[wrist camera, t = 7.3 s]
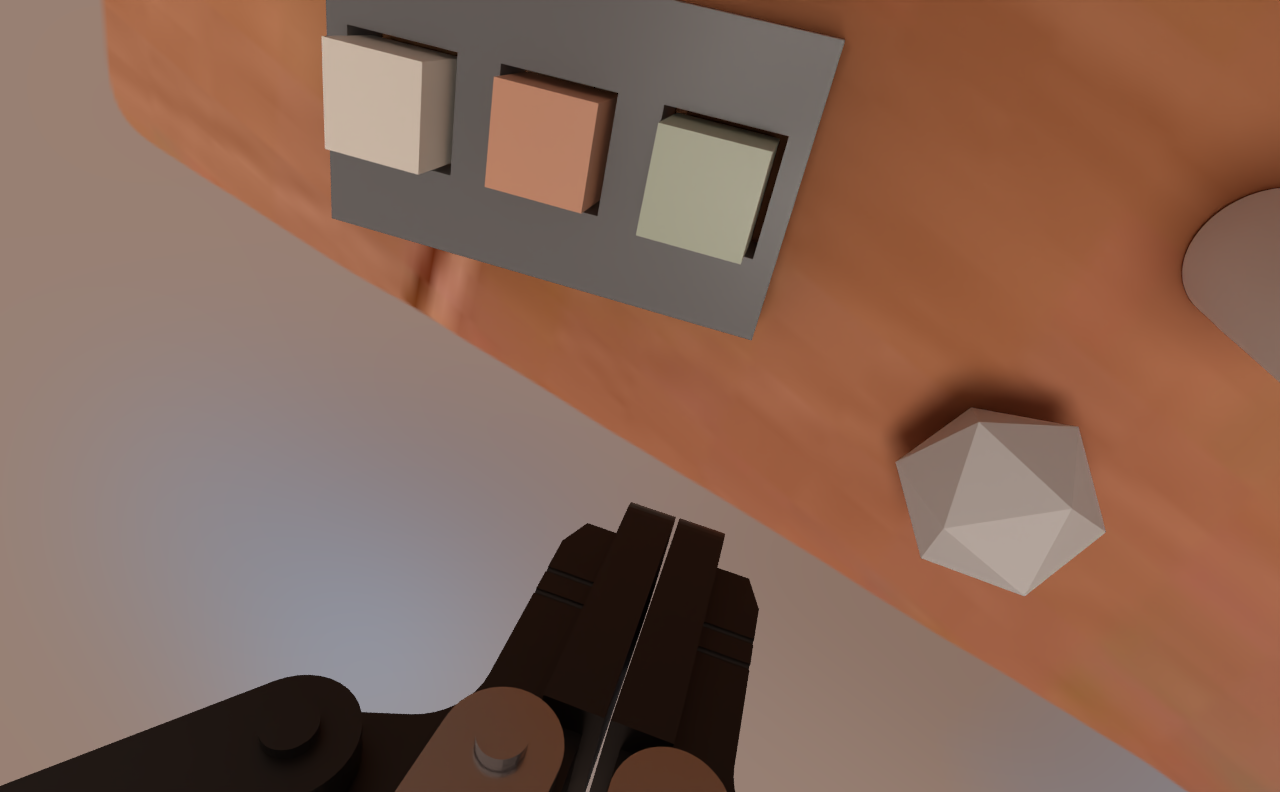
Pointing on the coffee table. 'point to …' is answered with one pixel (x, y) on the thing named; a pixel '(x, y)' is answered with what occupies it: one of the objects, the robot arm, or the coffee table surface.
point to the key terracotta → (549, 140)
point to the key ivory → (388, 102)
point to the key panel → (647, 93)
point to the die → (1001, 498)
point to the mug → (1241, 275)
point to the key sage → (705, 186)
